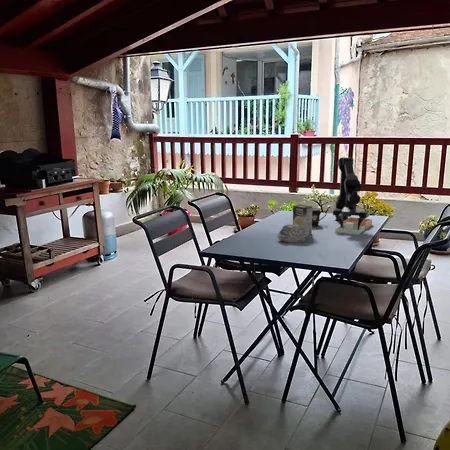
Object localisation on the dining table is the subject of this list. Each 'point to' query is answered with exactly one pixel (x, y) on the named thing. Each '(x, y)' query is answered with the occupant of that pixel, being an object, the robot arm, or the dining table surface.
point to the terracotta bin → (365, 223)
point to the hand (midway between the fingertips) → (350, 228)
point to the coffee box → (303, 217)
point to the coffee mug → (316, 216)
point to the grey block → (350, 226)
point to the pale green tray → (356, 231)
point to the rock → (292, 233)
